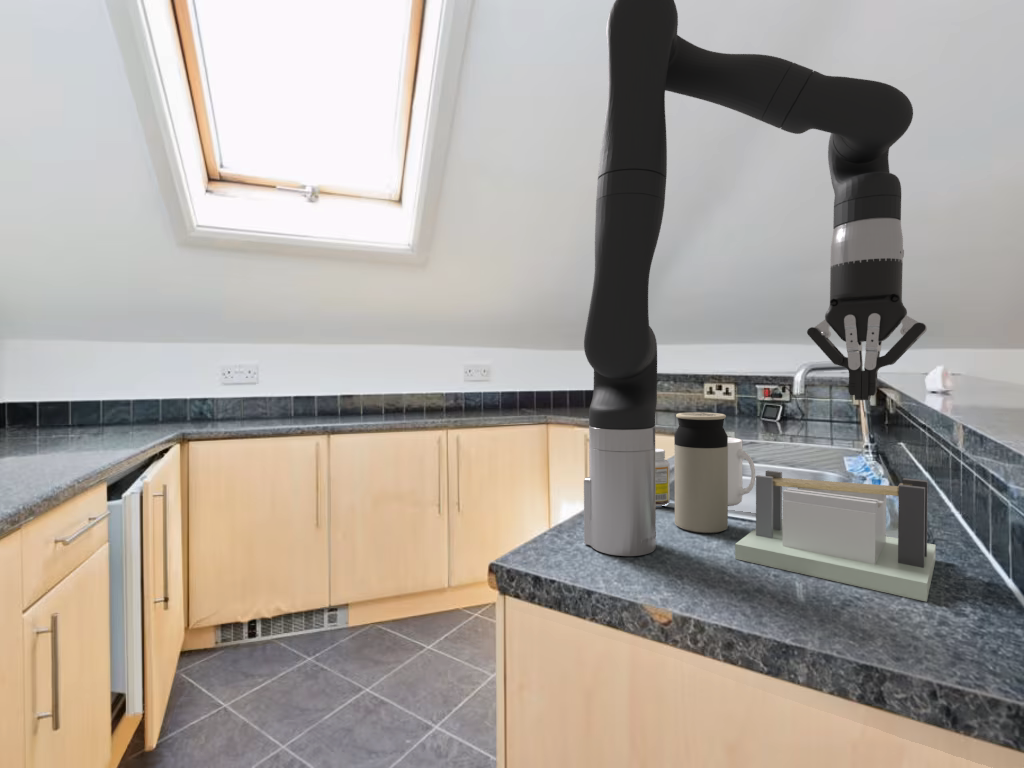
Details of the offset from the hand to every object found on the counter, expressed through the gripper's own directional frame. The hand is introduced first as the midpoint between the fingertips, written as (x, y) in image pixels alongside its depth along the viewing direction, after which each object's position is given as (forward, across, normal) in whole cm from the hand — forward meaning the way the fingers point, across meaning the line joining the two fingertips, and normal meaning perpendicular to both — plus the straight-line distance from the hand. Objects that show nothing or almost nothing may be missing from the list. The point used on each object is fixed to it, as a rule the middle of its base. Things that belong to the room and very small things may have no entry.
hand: (862, 399), depth 66 cm
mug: (+22, -25, +21) cm, 39 cm away
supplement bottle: (+22, -34, +11) cm, 42 cm away
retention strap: (+12, -3, 0) cm, 12 cm away
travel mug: (+22, -22, +3) cm, 31 cm away
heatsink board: (+21, -3, 0) cm, 21 cm away
